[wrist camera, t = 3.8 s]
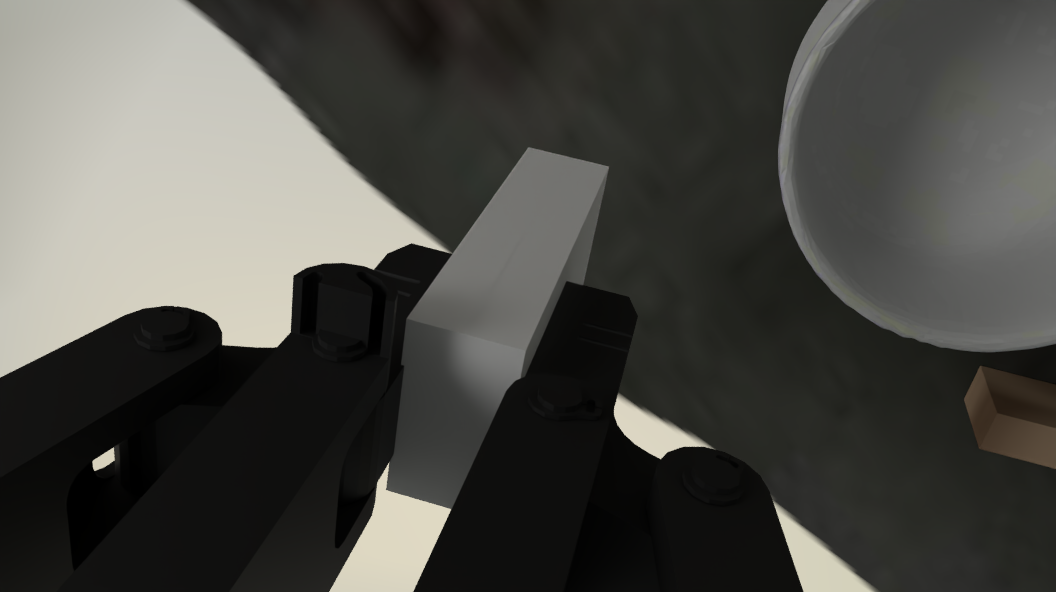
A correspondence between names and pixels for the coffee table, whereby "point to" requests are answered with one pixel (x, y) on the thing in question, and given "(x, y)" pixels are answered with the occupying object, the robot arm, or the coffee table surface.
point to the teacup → (929, 166)
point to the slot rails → (1013, 415)
